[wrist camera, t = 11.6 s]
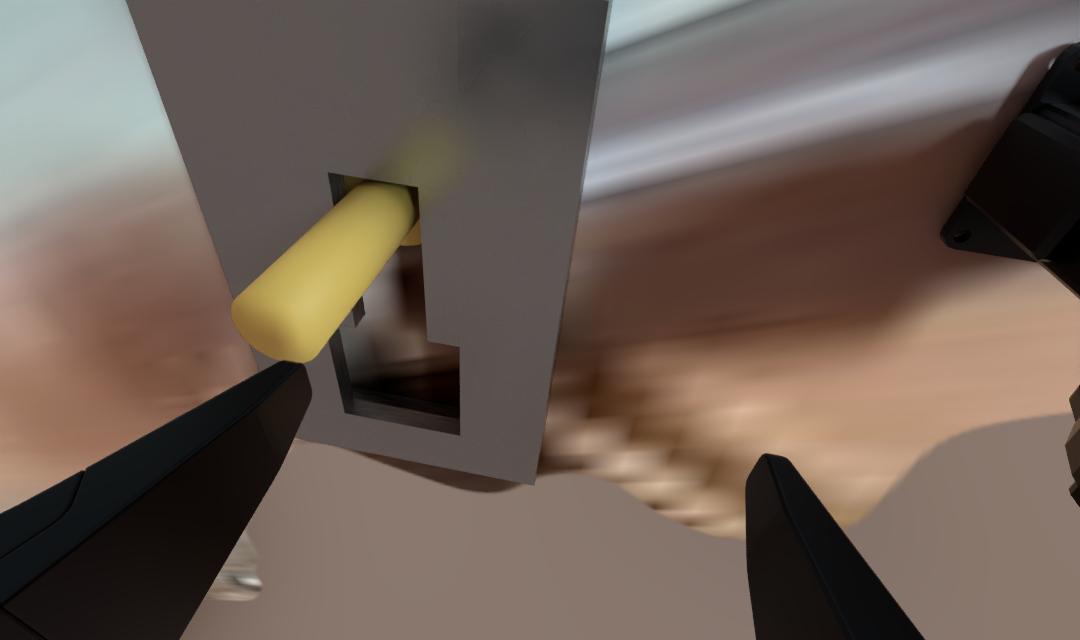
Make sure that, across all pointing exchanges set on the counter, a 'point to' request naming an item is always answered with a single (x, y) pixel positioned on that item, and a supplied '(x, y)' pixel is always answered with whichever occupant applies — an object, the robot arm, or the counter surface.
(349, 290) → the headed peg
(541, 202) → the keyhole plate
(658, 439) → the counter surface
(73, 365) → the counter surface
